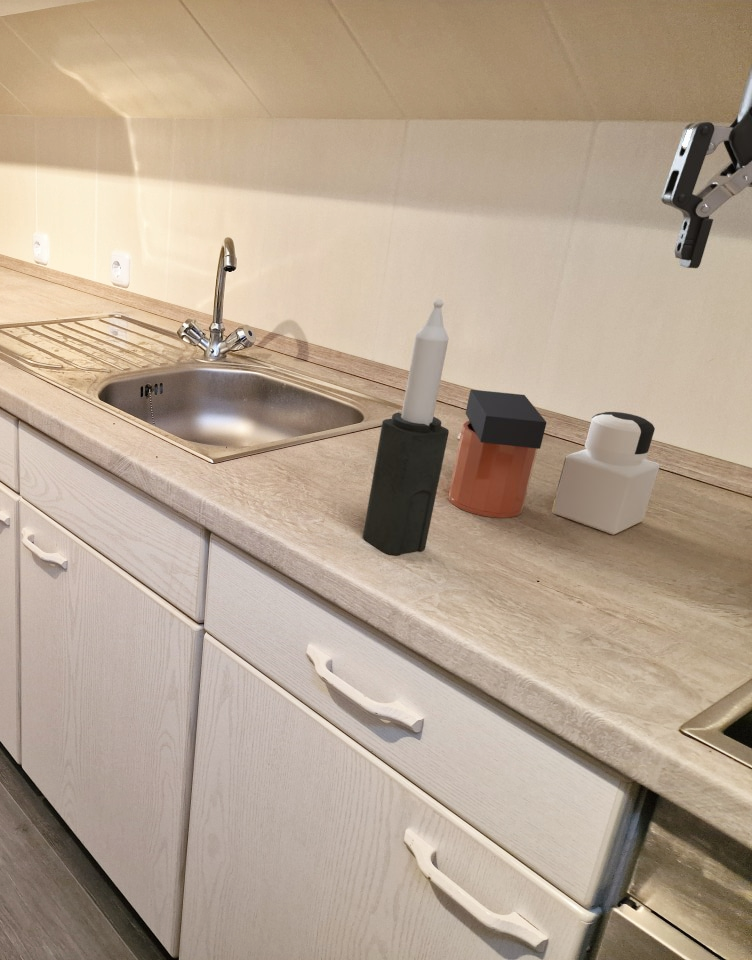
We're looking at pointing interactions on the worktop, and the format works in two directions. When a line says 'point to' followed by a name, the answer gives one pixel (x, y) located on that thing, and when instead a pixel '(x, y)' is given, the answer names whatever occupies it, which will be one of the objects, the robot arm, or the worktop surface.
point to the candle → (410, 452)
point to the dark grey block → (505, 419)
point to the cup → (490, 476)
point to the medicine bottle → (609, 474)
